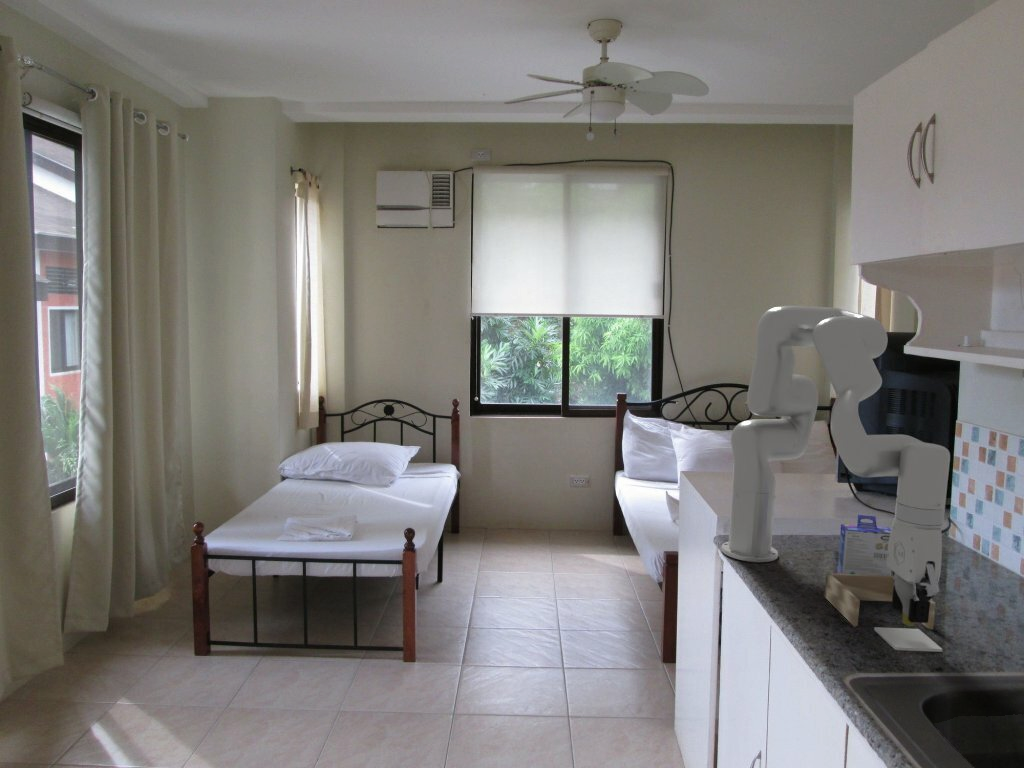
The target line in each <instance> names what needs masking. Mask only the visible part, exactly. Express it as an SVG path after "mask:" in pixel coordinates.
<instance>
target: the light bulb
mask: <svg viewBox="0 0 1024 768" xmlns="http://www.w3.org/2000/svg"><path fill="white" fill-rule="evenodd" d="M920 582H926V580H925V579H921V581H920ZM895 589H896V592H897V594H898V596H899V598H900V600H901V602H902V604H903V609H902V619H901V622H902V623H903V624H904V625H905V626H906V627H912V626H915V625H916V623H915V622H910V621H909V620H908V616H909V605H910V599H913V592H912V584H910V583H908V582H906V581H905V580H904V579H902V578H901V577H900V576H898V577H897V578H896V581H895ZM922 589H925V586H919V592H920V591H921V590H922Z"/></svg>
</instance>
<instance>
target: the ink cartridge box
mask: <svg viewBox="0 0 1024 768" xmlns="http://www.w3.org/2000/svg"><path fill="white" fill-rule="evenodd" d="M865 519H867V520H870V521H872V522H863V521H861V520H865ZM890 533H891V528H890V527H887V526H878V525H877V519H876V516H872V515H863V514H857V524H844V523H842V524H840V535H839V536H840V537H839V551H838V564H837V574H857V575H884V576H892V570H891V569H889V568H888V566H887V564H886V560H887V551H888V544H889V538H890Z"/></svg>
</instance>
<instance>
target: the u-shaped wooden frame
mask: <svg viewBox="0 0 1024 768" xmlns="http://www.w3.org/2000/svg"><path fill="white" fill-rule="evenodd" d="M893 577H894V575H891V576H884V575H857V574H838V573H828V572H827V573H826V574H825V585H824V597H825V598H826V599H827V600H828V601H829V602H830V603H831V604H832V605H833V606H834V607H835V608H836V609H837V610H838V611H839V612H840V613H841V614H842V615H843V616H844V617H845V618H846V619H847V620H848V621H849V622H850V623H851V624H852V625H853V626H852V625H851V624H850V623H849V622H848V621H847V620H846V619H845V618H844V617H843V616H842V615H841V614H840V613H839V612H838V611H837V610H836V609H835V610H836V611H837V612H838V613H839V614H840V615H841V616H842V617H843V618H844V619H845V620H846V621H847V622H848V623H849V624H850V625H851V626H852V627H856V626H858V625H859V615H860V604H861V603H860V602H861V601H871V602H873V601H876V602H892V598H893V587H894V586H895V585H893ZM825 598H824V599H825ZM827 600H826V601H827ZM828 601H827V602H828ZM829 602H828V603H829ZM830 603H829V604H830ZM831 604H830V605H831ZM832 605H831V606H832ZM935 613H936V602H934V600H932V601H931V602H930V609H929V619H928V622H927V623H921V625H923V626H924V627H925V628H927V629H928V630H934V625H935V624H934V623H935Z"/></svg>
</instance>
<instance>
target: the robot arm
mask: <svg viewBox="0 0 1024 768" xmlns="http://www.w3.org/2000/svg"><path fill="white" fill-rule="evenodd" d="M755 340H756V341H755V342H756V343H755V344H756V348H755V349H756V351H755V357H754V362H753V366H752V369H751V370H752V371H751V376H750V380H749V384H748V389H747V395H746V405H747V408H748V410H749V412H751V414H753V415H755V416H759V417H767V418H763V419H761V418H759V419H757V418H756V419H753V418H752V419H748V420H743V421H741V422H739V423H737V425H736V426H735V427H734V428H733V430H732V431H731V436H730V437H731V438H730V443H731V444H730V445H731V452H732V463H733V464H732V466H733V468H732V491H731V505H730V517H729V518H730V519H729V530H728V531H729V532H728V533H729V534H728V541H725V542H723V543H722V544H721V552H722V553H723V554H724V555H726V557H727V556H728V557H730V558H732V559H734V560H735V559H736V560H738V561H742V562H743V561H744V562H749V563H769V562H773V561H776V560H777V559H778V558H779V557H778V556H779V552H778V550H777V549H776V548H774V547H773V546H772V543H773V542H772V540H773V530H774V529H773V528H774V516H775V515H774V514H775V501H776V489H777V480H776V477H775V473H774V472H773V470H772V467H771V466H770V462H773V461H789V460H790V461H791V460H797V459H799V458H800V457H802V456H803V455H804V453H805V452H806V450H807V449H808V445H809V443H810V438H811V434H812V430H813V426H814V423H815V422H814V421H815V418H816V414H817V409H818V405H819V394H818V393H819V392H818V387H817V386H816V383H814V381H813V380H812V379H811V378H810V377H808V376H807V375H804V374H803V375H802V374H794V369H795V366H796V355H795V352H794V349H793V347H808V348H809V347H812V348H813V347H814V348H815V349H816V351H817V353H818V356H819V358H820V360H821V363H822V365H823V367H824V369H825V371H826V374H827V376H828V379H829V381H830V384H831V385H832V387H833V390H834V392H835V395H836V398H835V401H834V403H833V406H832V408H831V413H830V434H831V437H832V440H833V443H834V445H835V448H836V451H837V453H838V455H839V457H840V459H841V461H842V462H843V464H844V466H845V467H846V468H847V469H848V471H849V472H851V474H853V475H855V476H858V477H861V478H878V477H880V478H881V477H898V478H897V479H898V480H897V489H896V498H895V499H896V501H895V509H894V510H895V512H894V518H893V520H892V523H891V524H892V525H891V528H890V529H891V533H890V538H889V544H888V551H887V560H886V564H887V566H888V568H889V569H891V570H892V571H891V573H892V576H894V577H893V585H895V581H896V578H897V577H898V576H900V577H901V578H902V579H904V580H905V581H906V582H908V583H910V584H912V592H913V599H910V605H909V616H908V620H909V621H910V622H915V624H916V623H919V624H920V623H921V624H922V623H927V622H928V619H929V609H930V602H931V601H933V598H934V597H935V595H937V594H938V593H939V592H940V587H939V581H940V576H941V569H942V556H943V554H942V551H943V542H942V541H943V537H942V536H943V535H942V528H943V527H944V524H945V523H944V521H945V514H946V513H945V512H946V502H947V501H946V500H947V494H948V493H947V491H948V481H949V472H950V462H951V453H950V450H949V449H948V448H946V447H945V446H943V445H940V444H936V443H930V442H924V441H922V440H920V439H918V438H915V437H913V436H911V435H908V434H899V433H898V434H867V433H866V430H865V428H864V426H863V424H862V422H861V421H862V420H861V419H860V418H861V417H860V416H859V404H860V402H862V401H864V400H866V399H868V398H869V397H871V396H873V395H874V394H876V392H877V391H879V389H880V388H881V387H882V384H883V378H882V375H881V374H880V372H879V369H878V368H877V366H876V364H875V361H874V360H873V359H876V358H878V357H880V356H881V355H883V354H884V352H885V351H886V349H887V346H888V341H889V340H888V333H887V331H886V328H885V327H884V325H883V324H882V323H881V322H880V321H879V320H877V319H875V318H874V317H871V316H868V315H864V314H860V313H857V312H853V311H850V310H846V309H843V308H838V307H828V306H808V305H807V306H806V305H782V306H775V307H772V308H770V309H767V311H765V312H764V313H763V314H762V316H761V317H760V318H759V321H758V323H757V328H756V337H755ZM768 417H769V418H768ZM772 417H775V418H772ZM776 417H781V418H776ZM770 418H771V419H770ZM921 579H925V580H926V582H920V581H921ZM919 586H925V589H922V590H921V591H920V592H919ZM891 607H892V608H893V609H897V610H898V609H900V610H901V609H902V610H903V604H902V602H901V600H900V598H899V596H898V594H897V592H896V589H895V586H894V587H893V598H892V601H891Z"/></svg>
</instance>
